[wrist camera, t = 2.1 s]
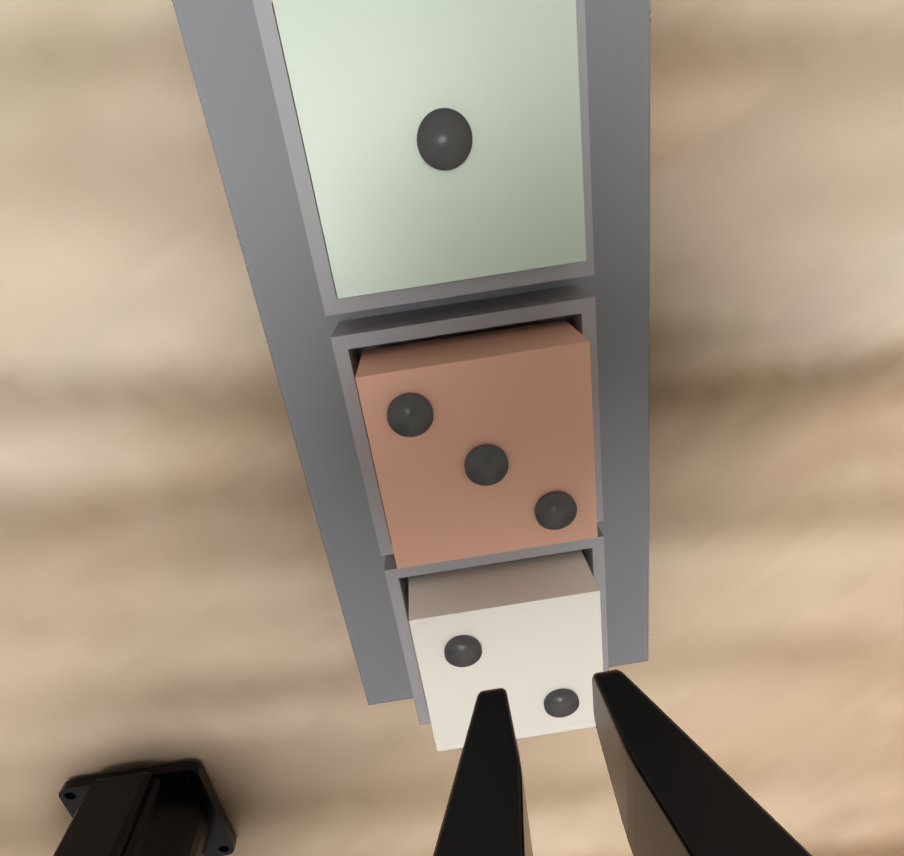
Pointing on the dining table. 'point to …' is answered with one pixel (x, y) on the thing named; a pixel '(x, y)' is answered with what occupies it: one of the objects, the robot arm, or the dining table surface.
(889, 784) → the dining table surface
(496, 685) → the tile two dots
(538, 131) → the tile one dot
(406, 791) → the dining table surface
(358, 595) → the button board
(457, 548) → the tile three dots
